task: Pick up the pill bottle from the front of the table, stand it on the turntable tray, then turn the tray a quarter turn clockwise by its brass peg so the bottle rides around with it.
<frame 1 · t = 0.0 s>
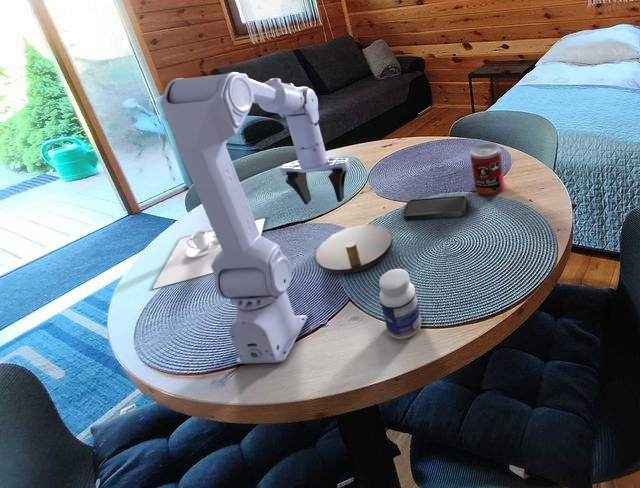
hand: (324, 200, 95), 10 cm above the table, tool pointing down, fingers open, 7 cm apart
tray: (352, 238, 91), point 4 cm above the table, hinge at 0.0°
phone: (435, 210, 105), on the table
pill bottle: (405, 327, 71), on the table
teacup and saucer: (215, 250, 101), on the table
canned food: (489, 189, 112), on the table
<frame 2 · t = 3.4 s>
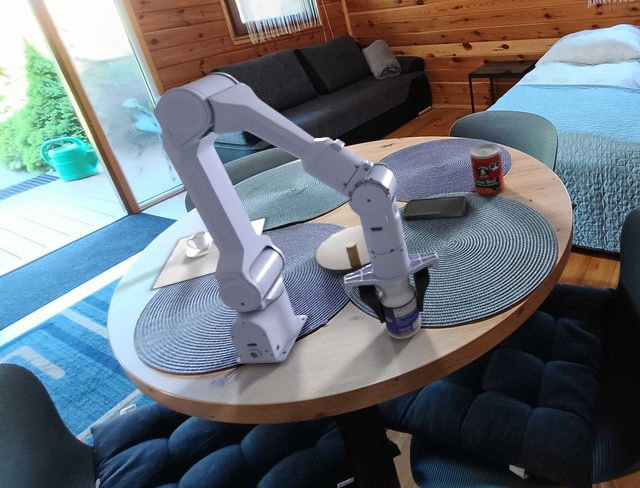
hand: (401, 313, 70), 3 cm above the table, tool pointing down, fingers closed on pill bottle, 5 cm apart
pill bottle: (405, 327, 71), on the table, touching gripper
everything else where it was.
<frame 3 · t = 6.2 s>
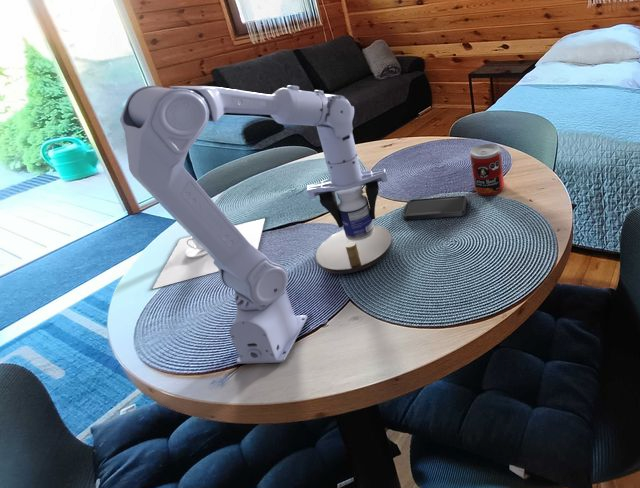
hand: (357, 220, 84), 10 cm above the table, tool pointing down, fingers closed on pill bottle, 5 cm apart
pill bottle: (360, 234, 86), point 7 cm above the table, touching gripper
everything else where it was.
when the fingers open (5 cm above the table, at t = 8.8 s): pill bottle stays where it is, resting on tray.
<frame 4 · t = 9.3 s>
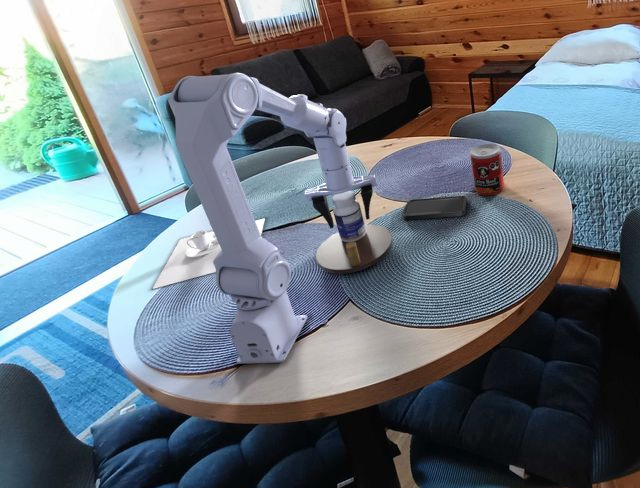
hand: (350, 221, 94), 6 cm above the table, tool pointing down, fingers open, 7 cm apart
tray: (352, 238, 91), point 4 cm above the table, hinge at -0.1°, touching pill bottle
pill bottle: (353, 236, 95), point 2 cm above the table, touching tray
everything else where it was.
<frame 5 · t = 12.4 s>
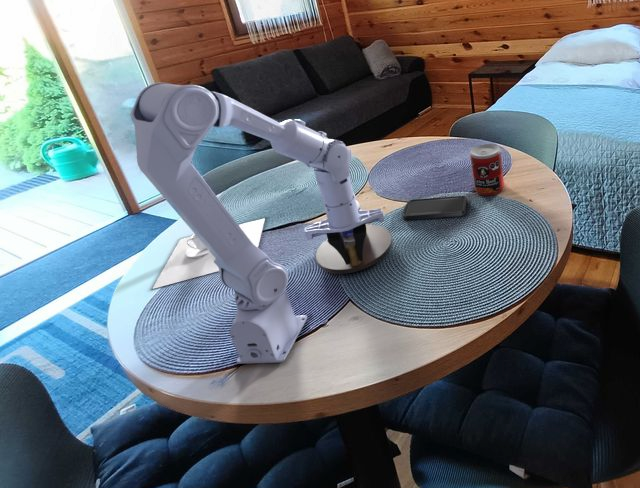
hand: (354, 259, 85), 3 cm above the table, tool pointing down, fingers closed on tray, 2 cm apart
tray: (352, 238, 91), point 4 cm above the table, hinge at -0.1°, touching gripper, pill bottle
everything else where it was.
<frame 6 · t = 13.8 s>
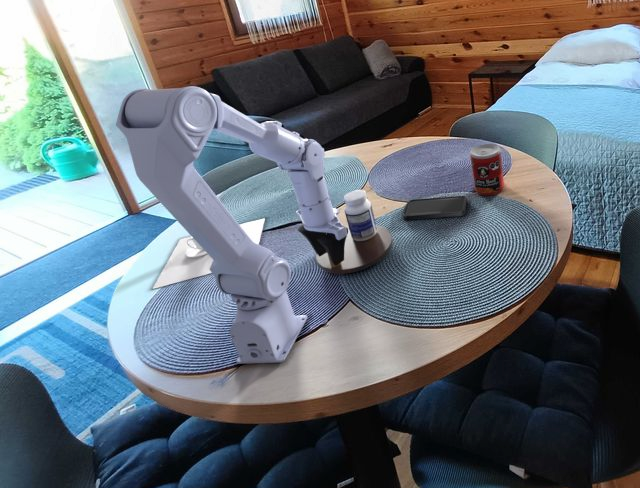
hand: (331, 257, 87), 3 cm above the table, tool pointing down, fingers open, 5 cm apart
tray: (352, 238, 91), point 4 cm above the table, hinge at -36.0°, touching gripper, pill bottle
pill bottle: (364, 235, 95), point 2 cm above the table, touching tray
everything else where it was.
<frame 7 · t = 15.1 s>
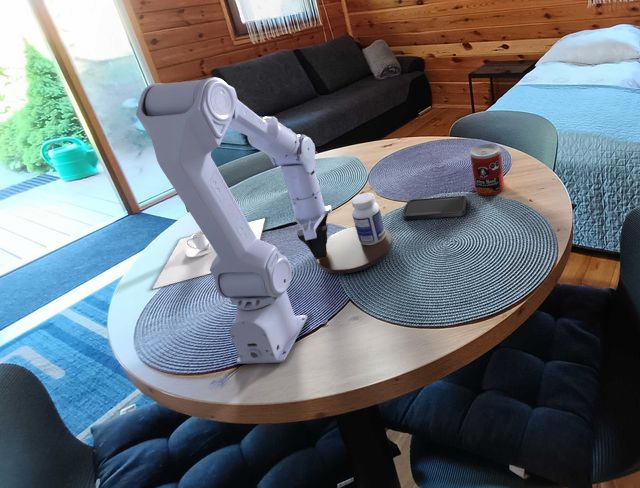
hand: (321, 250, 90), 3 cm above the table, tool pointing down, fingers open, 4 cm apart
tray: (352, 238, 91), point 4 cm above the table, hinge at -78.8°, touching gripper, pill bottle
pill bottle: (372, 239, 93), point 2 cm above the table, touching tray
everything else where it was.
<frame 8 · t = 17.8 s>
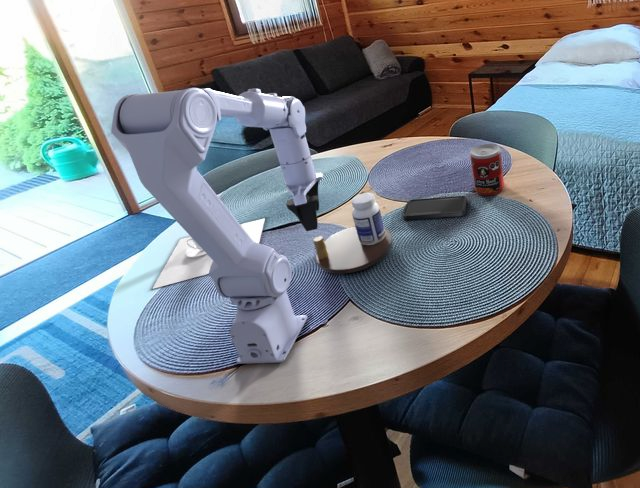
hand: (313, 219, 87), 10 cm above the table, tool pointing down, fingers open, 7 cm apart
tray: (352, 238, 91), point 4 cm above the table, hinge at -78.9°, touching pill bottle
everything else where it was.
at the end: tray at -79° (first picture: +0°); pill bottle inside the target area on the tray (4.0 cm from its centre), point 2.0 cm above the tray's base; pill bottle tilted 0° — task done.
